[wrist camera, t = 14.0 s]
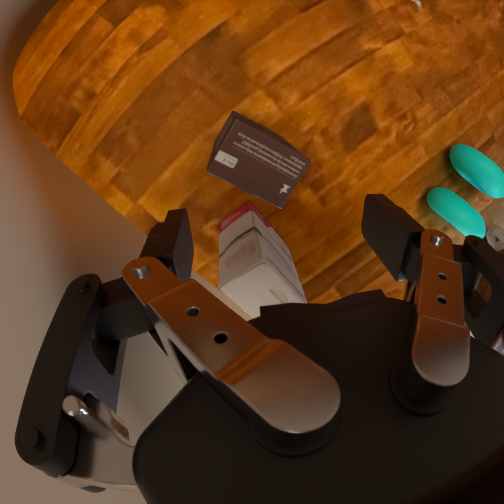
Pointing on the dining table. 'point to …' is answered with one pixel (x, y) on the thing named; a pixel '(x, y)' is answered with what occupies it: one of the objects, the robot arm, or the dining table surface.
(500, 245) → the mug
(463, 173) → the turquoise yo-yo
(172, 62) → the dining table surface
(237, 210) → the ink box
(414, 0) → the white dragon
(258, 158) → the box
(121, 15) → the dining table surface
